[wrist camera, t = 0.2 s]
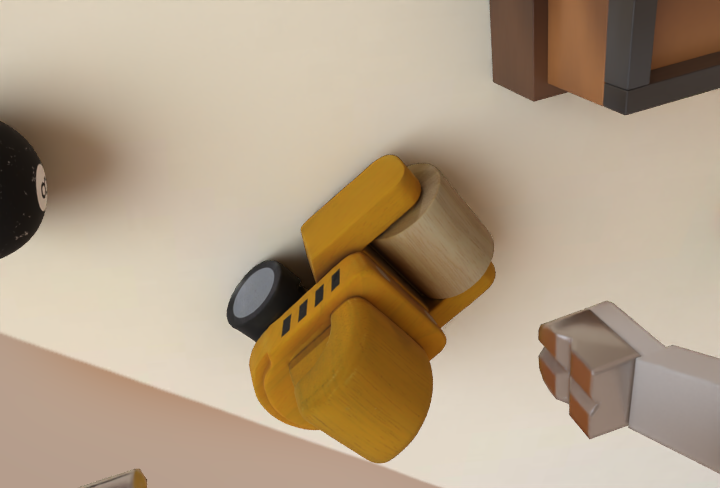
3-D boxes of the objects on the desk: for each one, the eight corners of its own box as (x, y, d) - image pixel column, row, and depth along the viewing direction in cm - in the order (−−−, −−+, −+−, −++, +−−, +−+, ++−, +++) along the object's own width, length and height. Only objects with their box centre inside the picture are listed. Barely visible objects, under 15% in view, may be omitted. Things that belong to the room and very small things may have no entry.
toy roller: (483, 228, 35) (591, 332, 26) (311, 380, 36) (358, 525, 28) (398, 128, 30) (495, 213, 21) (205, 308, 32) (221, 456, 23)
